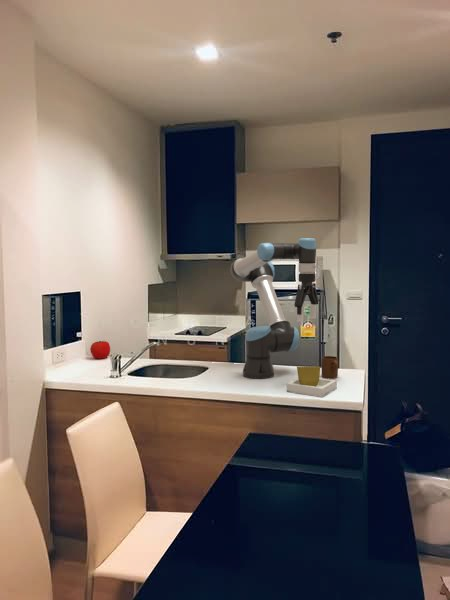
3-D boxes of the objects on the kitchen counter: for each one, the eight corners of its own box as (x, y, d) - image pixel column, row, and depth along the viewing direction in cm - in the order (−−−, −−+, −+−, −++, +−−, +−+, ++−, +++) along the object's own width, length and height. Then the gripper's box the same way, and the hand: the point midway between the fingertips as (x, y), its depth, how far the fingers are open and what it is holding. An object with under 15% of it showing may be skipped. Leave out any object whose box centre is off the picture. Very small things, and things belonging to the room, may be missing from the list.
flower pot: (299, 388, 210) (299, 366, 211) (296, 387, 218) (296, 366, 219) (321, 388, 210) (320, 366, 211) (317, 387, 218) (316, 366, 219)
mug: (344, 380, 232) (345, 360, 232) (329, 381, 231) (329, 361, 230) (333, 374, 244) (333, 355, 243) (318, 375, 242) (318, 356, 241)
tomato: (114, 356, 294) (113, 338, 294) (105, 360, 282) (104, 342, 281) (96, 355, 297) (95, 338, 296) (86, 360, 284) (85, 342, 283)
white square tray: (286, 391, 214) (286, 383, 213) (302, 383, 227) (302, 376, 227) (322, 397, 205) (322, 388, 205) (336, 388, 218) (336, 380, 218)
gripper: (302, 274, 213) (302, 324, 215) (326, 272, 234) (325, 317, 236) (286, 273, 217) (286, 322, 219) (311, 271, 238) (310, 316, 240)
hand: (306, 320), depth 227 cm, fingers open, 13 cm apart
